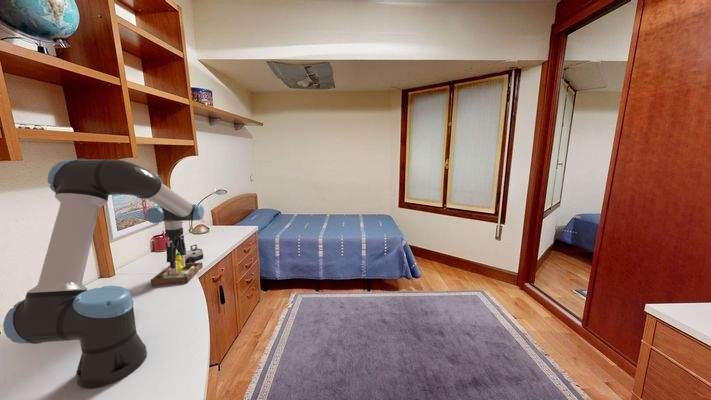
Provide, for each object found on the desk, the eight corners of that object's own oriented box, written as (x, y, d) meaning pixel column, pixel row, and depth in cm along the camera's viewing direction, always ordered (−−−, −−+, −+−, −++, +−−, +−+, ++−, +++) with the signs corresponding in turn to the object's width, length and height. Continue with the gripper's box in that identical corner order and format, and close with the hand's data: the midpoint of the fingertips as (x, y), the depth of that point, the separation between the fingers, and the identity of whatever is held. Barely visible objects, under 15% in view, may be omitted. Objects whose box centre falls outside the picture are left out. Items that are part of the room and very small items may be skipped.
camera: (182, 269, 146) (180, 252, 144) (173, 266, 149) (171, 250, 147) (206, 259, 159) (205, 244, 158) (198, 258, 162) (197, 242, 161)
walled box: (187, 283, 128) (187, 277, 127) (151, 286, 125) (150, 279, 125) (202, 268, 146) (202, 262, 146) (171, 270, 144) (170, 264, 143)
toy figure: (168, 276, 133) (167, 254, 131) (171, 273, 136) (169, 252, 134) (183, 275, 135) (182, 253, 133) (185, 272, 138) (184, 251, 136)
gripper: (172, 233, 123) (176, 278, 126) (190, 223, 143) (194, 262, 146) (154, 233, 121) (159, 279, 125) (175, 223, 141) (179, 263, 145)
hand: (178, 270), depth 135 cm, fingers open, 8 cm apart
